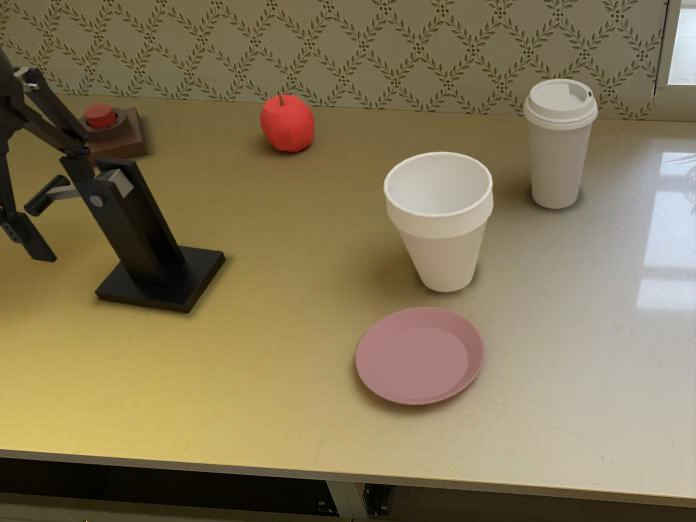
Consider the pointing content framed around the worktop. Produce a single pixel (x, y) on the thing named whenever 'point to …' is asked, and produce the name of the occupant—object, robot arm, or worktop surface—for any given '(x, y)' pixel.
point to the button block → (117, 137)
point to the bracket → (144, 245)
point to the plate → (420, 355)
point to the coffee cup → (558, 139)
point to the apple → (287, 123)
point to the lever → (71, 190)
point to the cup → (440, 214)
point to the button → (100, 115)
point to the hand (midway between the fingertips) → (72, 230)
